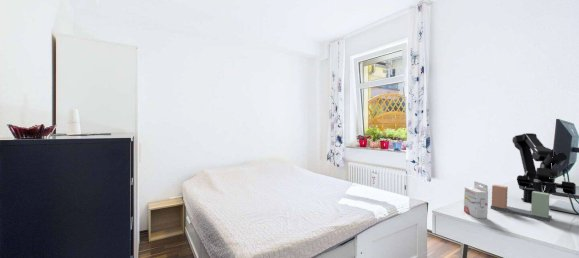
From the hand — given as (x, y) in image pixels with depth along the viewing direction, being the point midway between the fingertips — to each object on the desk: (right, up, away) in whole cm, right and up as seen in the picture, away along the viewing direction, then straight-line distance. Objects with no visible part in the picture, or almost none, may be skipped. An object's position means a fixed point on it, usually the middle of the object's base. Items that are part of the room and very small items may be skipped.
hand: (541, 199), depth 110 cm
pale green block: (-3, -6, -2) cm, 7 cm away
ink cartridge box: (-29, -8, +1) cm, 30 cm away
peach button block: (-11, -6, +9) cm, 16 cm away
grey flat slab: (-6, -8, +4) cm, 11 cm away
